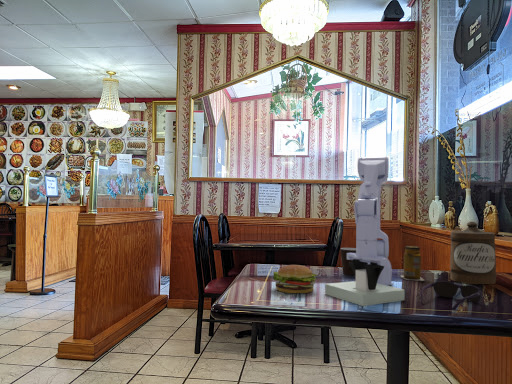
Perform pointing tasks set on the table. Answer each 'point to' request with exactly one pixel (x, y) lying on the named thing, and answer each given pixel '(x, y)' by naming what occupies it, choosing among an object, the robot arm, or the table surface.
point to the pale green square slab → (364, 293)
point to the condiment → (412, 263)
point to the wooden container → (473, 256)
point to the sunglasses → (455, 291)
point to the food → (294, 279)
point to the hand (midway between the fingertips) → (366, 287)
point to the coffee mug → (345, 262)
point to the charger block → (362, 281)
